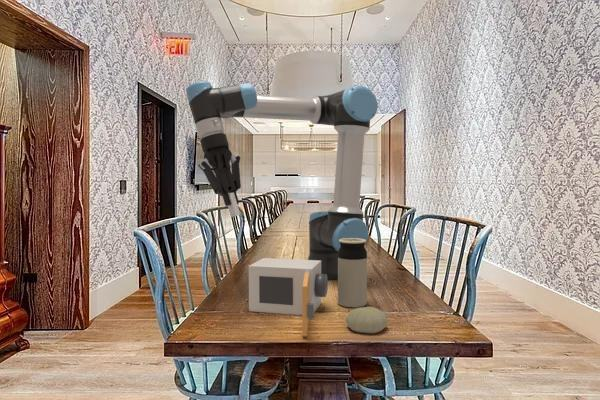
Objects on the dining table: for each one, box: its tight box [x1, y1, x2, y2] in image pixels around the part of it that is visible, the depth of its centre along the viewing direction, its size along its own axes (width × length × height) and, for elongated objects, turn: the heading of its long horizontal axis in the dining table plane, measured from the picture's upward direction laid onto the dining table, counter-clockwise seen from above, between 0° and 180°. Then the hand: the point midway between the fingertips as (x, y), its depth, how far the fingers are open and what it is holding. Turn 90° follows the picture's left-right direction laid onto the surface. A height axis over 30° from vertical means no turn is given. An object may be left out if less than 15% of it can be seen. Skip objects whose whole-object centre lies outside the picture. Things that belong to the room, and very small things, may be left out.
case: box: [248, 257, 329, 316], centre depth 118 cm, size 19×13×12 cm
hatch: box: [302, 273, 315, 337], centre depth 102 cm, size 14×2×11 cm, turn 177°
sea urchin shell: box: [345, 306, 388, 334], centre depth 102 cm, size 9×8×8 cm
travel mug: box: [337, 238, 368, 309], centre depth 121 cm, size 8×8×18 cm
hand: (235, 215), depth 123 cm, fingers closed
